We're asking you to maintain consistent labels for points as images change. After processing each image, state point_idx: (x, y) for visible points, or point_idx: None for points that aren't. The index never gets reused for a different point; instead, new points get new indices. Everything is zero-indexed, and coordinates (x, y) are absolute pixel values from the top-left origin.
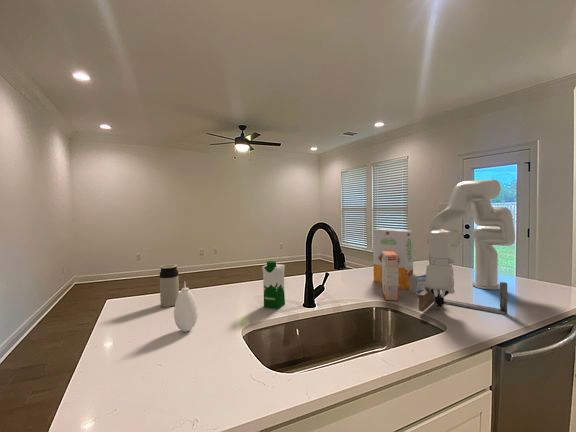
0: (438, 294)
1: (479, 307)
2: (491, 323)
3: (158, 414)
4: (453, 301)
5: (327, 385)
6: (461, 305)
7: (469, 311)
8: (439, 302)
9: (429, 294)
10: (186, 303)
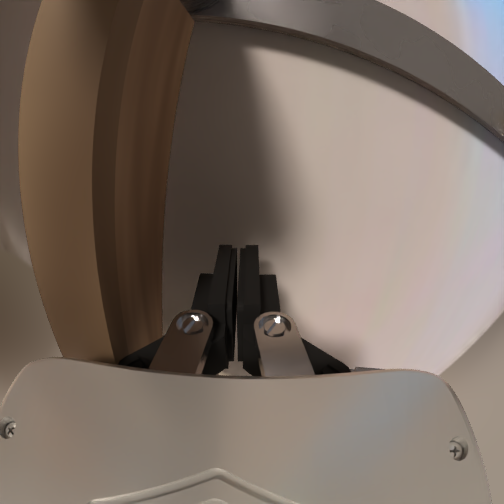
0: (220, 353)
1: (497, 131)
2: (458, 317)
3: None
4: (351, 8)
5: None
6: (408, 76)
7: (437, 179)
8: (235, 294)
9: (130, 348)
10: None
